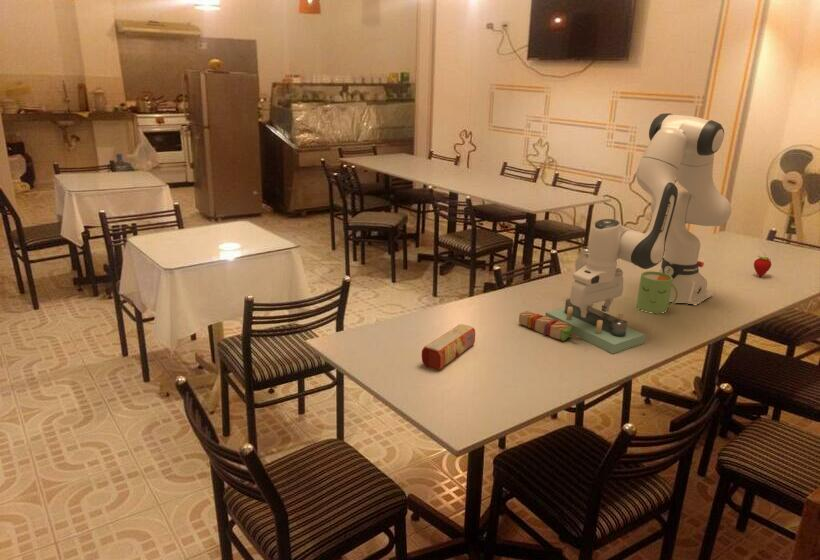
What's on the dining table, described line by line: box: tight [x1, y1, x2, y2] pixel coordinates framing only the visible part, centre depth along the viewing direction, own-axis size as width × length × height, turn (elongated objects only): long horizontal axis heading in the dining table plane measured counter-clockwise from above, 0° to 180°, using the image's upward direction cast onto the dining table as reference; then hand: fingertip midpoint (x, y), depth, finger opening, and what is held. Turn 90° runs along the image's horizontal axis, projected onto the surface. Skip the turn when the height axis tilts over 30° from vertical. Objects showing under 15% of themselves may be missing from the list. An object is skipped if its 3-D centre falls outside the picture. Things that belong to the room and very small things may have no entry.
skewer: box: [518, 310, 580, 342], centre depth 190 cm, size 21×6×5 cm, turn 44°
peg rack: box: [544, 304, 646, 355], centre depth 191 cm, size 14×28×7 cm, turn 32°
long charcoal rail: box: [564, 298, 628, 337], centre depth 191 cm, size 4×23×4 cm, turn 32°
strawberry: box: [753, 253, 772, 277], centre depth 245 cm, size 6×8×10 cm
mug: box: [635, 270, 678, 313], centre depth 210 cm, size 13×10×12 cm
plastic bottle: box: [574, 246, 589, 272], centre depth 213 cm, size 6×7×20 cm
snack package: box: [421, 323, 476, 371], centre depth 174 cm, size 21×7×7 cm, turn 146°
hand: (594, 313), depth 191 cm, fingers open, 8 cm apart
